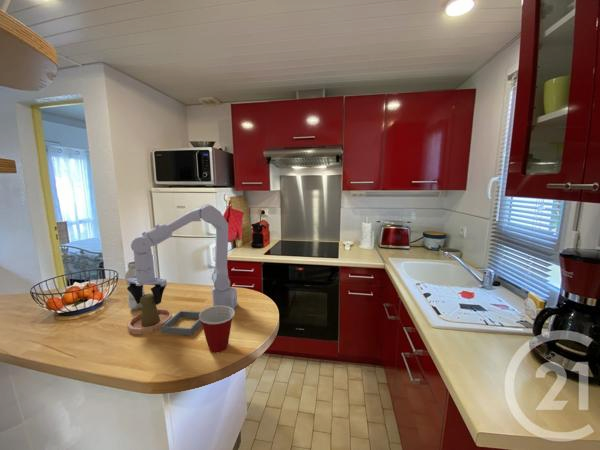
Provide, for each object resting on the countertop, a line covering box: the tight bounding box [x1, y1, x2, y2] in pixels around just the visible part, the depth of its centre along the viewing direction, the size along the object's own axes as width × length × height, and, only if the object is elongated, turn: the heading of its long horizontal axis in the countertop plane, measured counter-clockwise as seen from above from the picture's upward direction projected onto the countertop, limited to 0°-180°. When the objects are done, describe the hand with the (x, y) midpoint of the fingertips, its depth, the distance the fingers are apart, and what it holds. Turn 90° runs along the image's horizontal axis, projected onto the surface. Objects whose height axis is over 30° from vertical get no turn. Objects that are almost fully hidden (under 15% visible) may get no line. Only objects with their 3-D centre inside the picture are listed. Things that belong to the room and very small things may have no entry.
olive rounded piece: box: [140, 293, 160, 327], centre depth 89 cm, size 6×6×11 cm
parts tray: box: [160, 310, 202, 337], centre depth 89 cm, size 11×11×2 cm
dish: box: [127, 308, 173, 336], centre depth 90 cm, size 14×14×2 cm
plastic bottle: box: [124, 261, 146, 311], centre depth 100 cm, size 6×7×20 cm
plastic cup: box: [199, 306, 236, 354], centre depth 76 cm, size 11×11×12 cm
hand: (149, 302), depth 89 cm, fingers open, 7 cm apart
